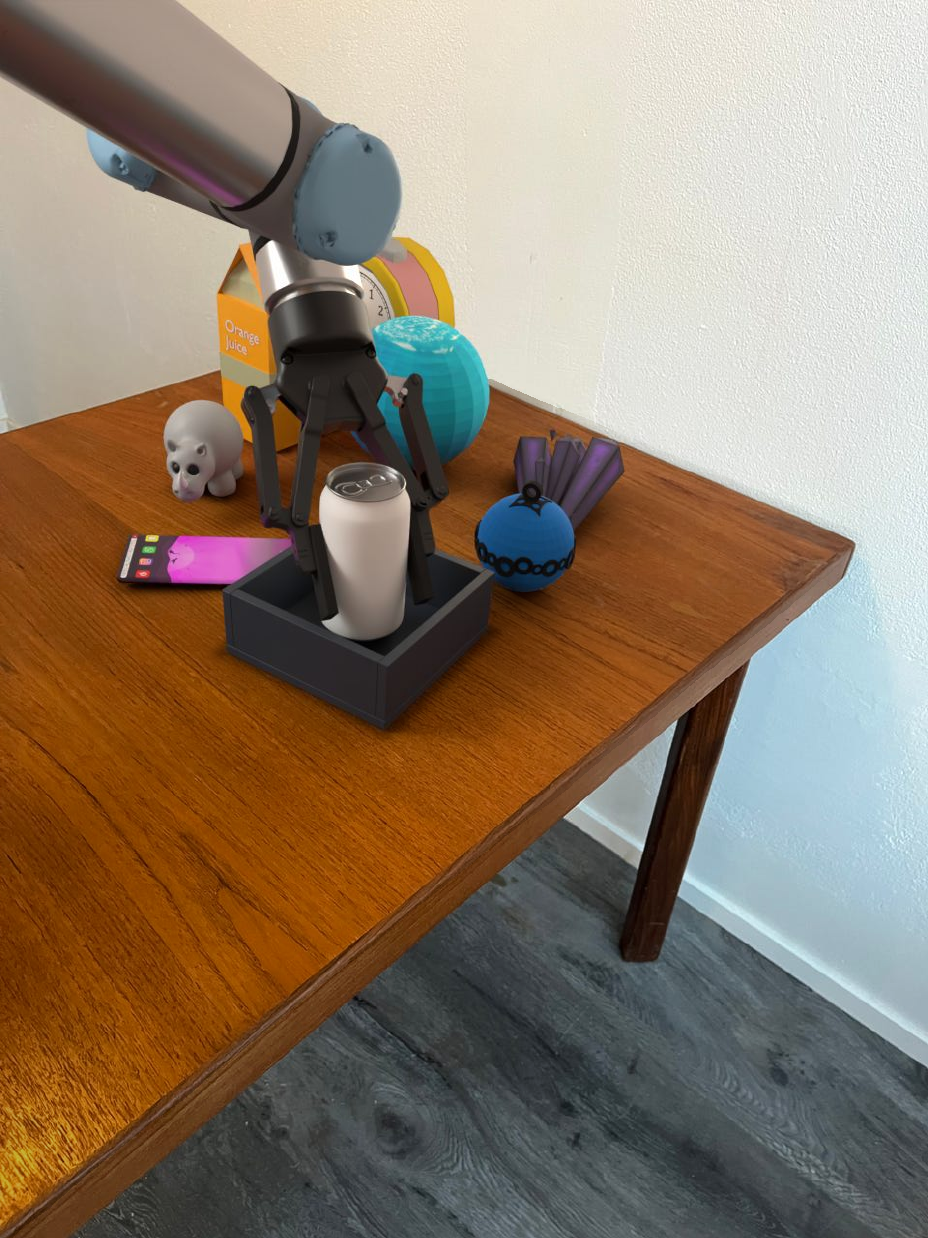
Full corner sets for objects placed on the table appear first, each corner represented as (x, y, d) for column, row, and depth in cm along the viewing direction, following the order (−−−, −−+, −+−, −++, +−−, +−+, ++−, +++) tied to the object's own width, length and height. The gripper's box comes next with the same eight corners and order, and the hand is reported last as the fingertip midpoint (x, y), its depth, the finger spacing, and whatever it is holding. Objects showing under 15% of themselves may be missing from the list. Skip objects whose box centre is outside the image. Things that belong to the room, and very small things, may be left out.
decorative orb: (313, 444, 103) (312, 303, 94) (433, 421, 110) (443, 287, 101) (383, 509, 93) (389, 358, 84) (510, 478, 101) (528, 337, 92)
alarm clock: (307, 386, 115) (306, 223, 104) (357, 369, 120) (360, 213, 110) (399, 428, 108) (408, 259, 97) (448, 408, 113) (461, 246, 102)
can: (303, 611, 75) (301, 472, 68) (371, 585, 79) (376, 451, 72) (351, 654, 71) (354, 512, 64) (420, 625, 75) (430, 488, 68)
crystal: (607, 502, 85) (638, 399, 100) (479, 487, 88) (528, 389, 103) (602, 568, 90) (633, 460, 104) (482, 552, 92) (528, 449, 107)
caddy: (226, 652, 74) (221, 589, 71) (342, 569, 84) (343, 511, 81) (384, 730, 68) (387, 666, 65) (487, 631, 79) (495, 571, 76)
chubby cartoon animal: (142, 525, 87) (131, 438, 82) (181, 464, 97) (174, 383, 92) (222, 534, 87) (216, 447, 82) (253, 472, 97) (249, 391, 92)
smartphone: (131, 541, 85) (129, 532, 84) (305, 542, 87) (305, 534, 86) (117, 588, 79) (115, 579, 79) (304, 588, 81) (304, 579, 81)
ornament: (581, 575, 87) (599, 475, 81) (547, 624, 80) (564, 519, 75) (493, 547, 89) (505, 448, 84) (453, 592, 83) (463, 489, 77)
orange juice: (223, 428, 104) (210, 234, 92) (286, 406, 110) (281, 221, 98) (272, 454, 100) (266, 255, 89) (334, 429, 106) (336, 240, 94)
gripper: (423, 324, 80) (482, 598, 78) (180, 338, 73) (237, 639, 71) (452, 279, 73) (518, 579, 71) (186, 290, 66) (250, 622, 64)
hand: (377, 608), depth 71 cm, fingers closed on can, 6 cm apart
